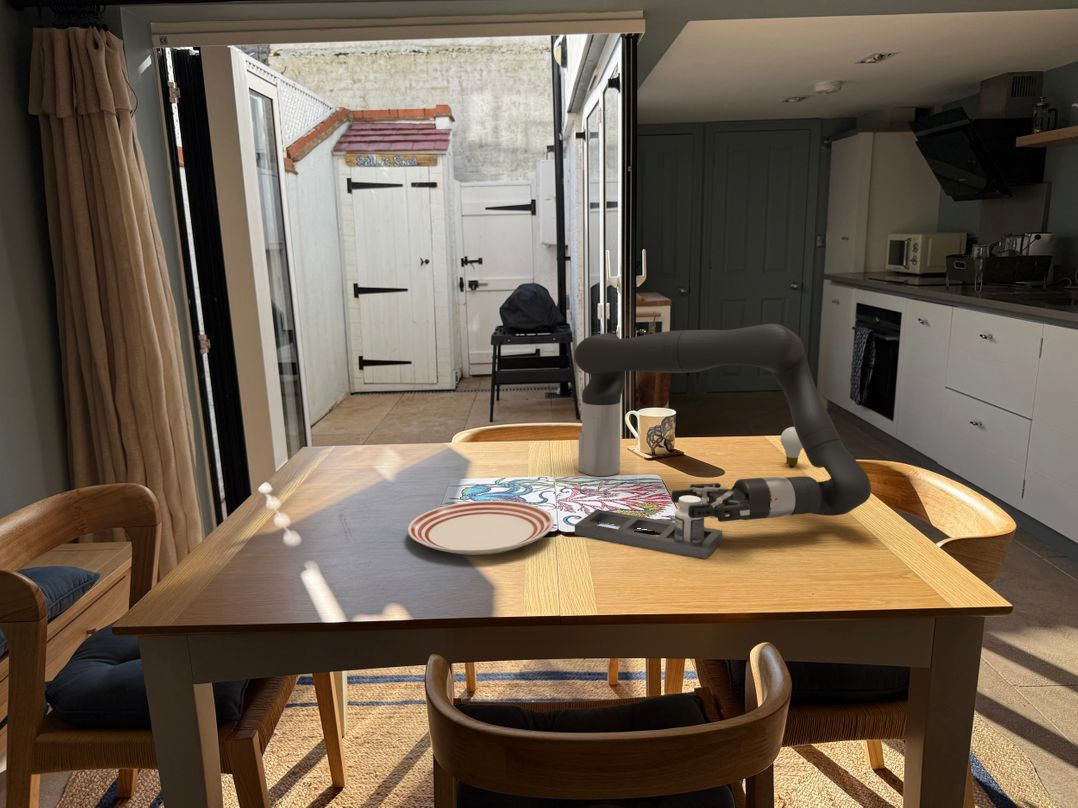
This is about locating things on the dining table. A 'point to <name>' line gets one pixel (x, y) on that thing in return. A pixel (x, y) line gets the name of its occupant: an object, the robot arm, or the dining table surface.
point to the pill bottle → (688, 521)
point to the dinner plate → (481, 527)
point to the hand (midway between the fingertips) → (680, 504)
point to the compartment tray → (629, 537)
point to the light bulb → (791, 446)
